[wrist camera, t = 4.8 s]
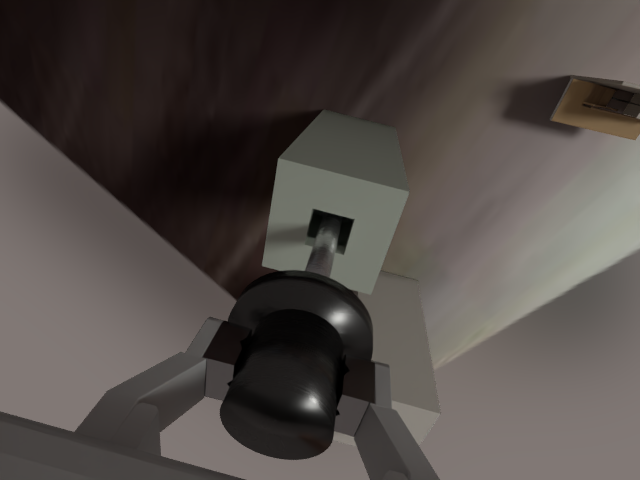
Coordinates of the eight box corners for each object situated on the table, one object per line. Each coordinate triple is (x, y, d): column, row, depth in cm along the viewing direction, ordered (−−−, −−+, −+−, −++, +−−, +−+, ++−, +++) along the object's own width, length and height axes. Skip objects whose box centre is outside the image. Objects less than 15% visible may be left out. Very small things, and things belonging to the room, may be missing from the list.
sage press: (395, 127, 32) (409, 191, 17) (373, 194, 36) (370, 294, 21) (323, 109, 32) (278, 158, 18) (309, 177, 36) (262, 265, 21)
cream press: (417, 280, 40) (440, 413, 25) (398, 322, 43) (408, 461, 29) (360, 265, 40) (349, 388, 25) (345, 308, 44) (329, 439, 29)
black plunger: (385, 165, 24) (398, 393, 8) (364, 228, 26) (344, 495, 11) (313, 147, 24) (185, 335, 8) (300, 212, 26) (184, 450, 11)
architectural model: (610, 131, 30) (673, 153, 24) (533, 113, 30) (574, 129, 24) (635, 90, 28) (711, 101, 22) (553, 71, 29) (604, 77, 22)
